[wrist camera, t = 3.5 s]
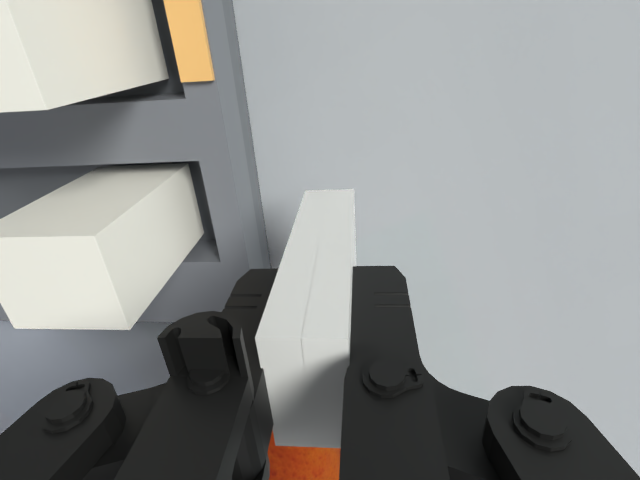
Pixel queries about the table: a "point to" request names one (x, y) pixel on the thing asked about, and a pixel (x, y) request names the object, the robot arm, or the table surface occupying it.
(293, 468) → the fruit
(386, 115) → the table surface
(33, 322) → the tab
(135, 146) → the switch board
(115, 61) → the white cuboid
